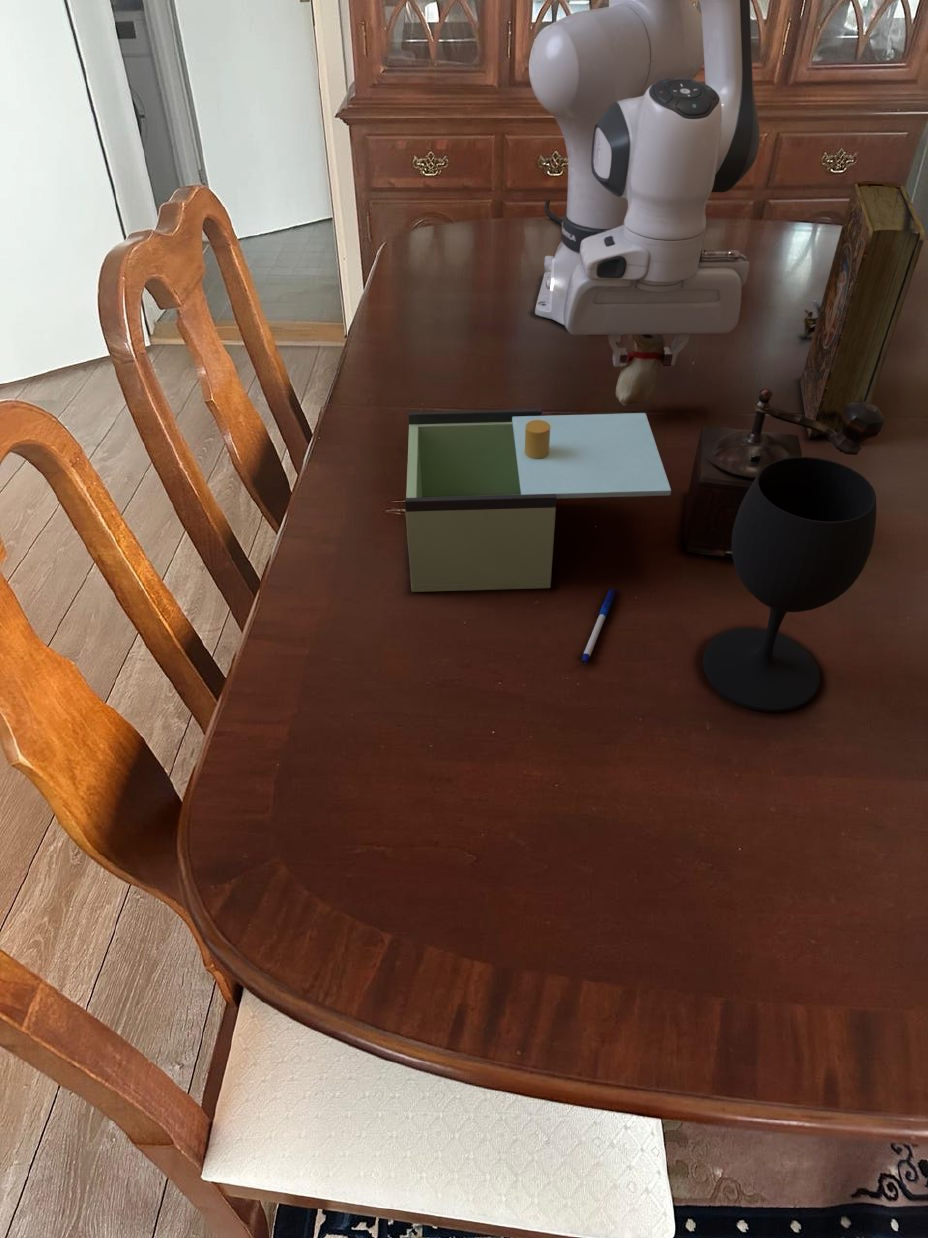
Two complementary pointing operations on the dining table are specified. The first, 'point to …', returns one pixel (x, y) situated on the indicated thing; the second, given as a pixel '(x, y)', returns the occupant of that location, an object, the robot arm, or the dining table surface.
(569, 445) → the light blue sliding lid
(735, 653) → the wine glass
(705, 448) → the vintage coffee grinder
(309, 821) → the dining table surface
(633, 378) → the chocolate bunny
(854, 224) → the book
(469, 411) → the case
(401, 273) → the dining table surface
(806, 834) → the dining table surface
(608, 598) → the ballpoint pen
